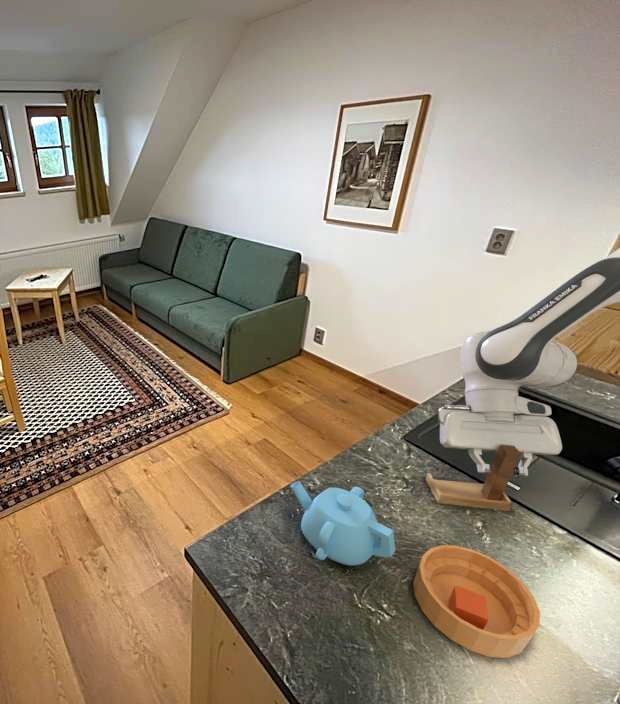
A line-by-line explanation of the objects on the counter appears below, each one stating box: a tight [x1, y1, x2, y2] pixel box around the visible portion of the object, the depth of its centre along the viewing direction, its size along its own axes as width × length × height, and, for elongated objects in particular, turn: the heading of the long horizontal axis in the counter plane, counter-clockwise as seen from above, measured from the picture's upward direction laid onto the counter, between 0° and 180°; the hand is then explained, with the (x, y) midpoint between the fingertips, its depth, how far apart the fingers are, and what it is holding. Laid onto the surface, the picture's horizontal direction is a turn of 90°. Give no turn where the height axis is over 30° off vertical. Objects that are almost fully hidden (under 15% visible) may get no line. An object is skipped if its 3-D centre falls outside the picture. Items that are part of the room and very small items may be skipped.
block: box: [449, 585, 488, 630], centre depth 64 cm, size 4×4×4 cm
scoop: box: [425, 445, 521, 511], centre depth 83 cm, size 7×13×14 cm, turn 77°
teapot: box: [290, 481, 396, 567], centre depth 77 cm, size 20×17×12 cm
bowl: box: [412, 544, 541, 659], centre depth 65 cm, size 15×15×6 cm
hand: (502, 474), depth 81 cm, fingers open, 5 cm apart
